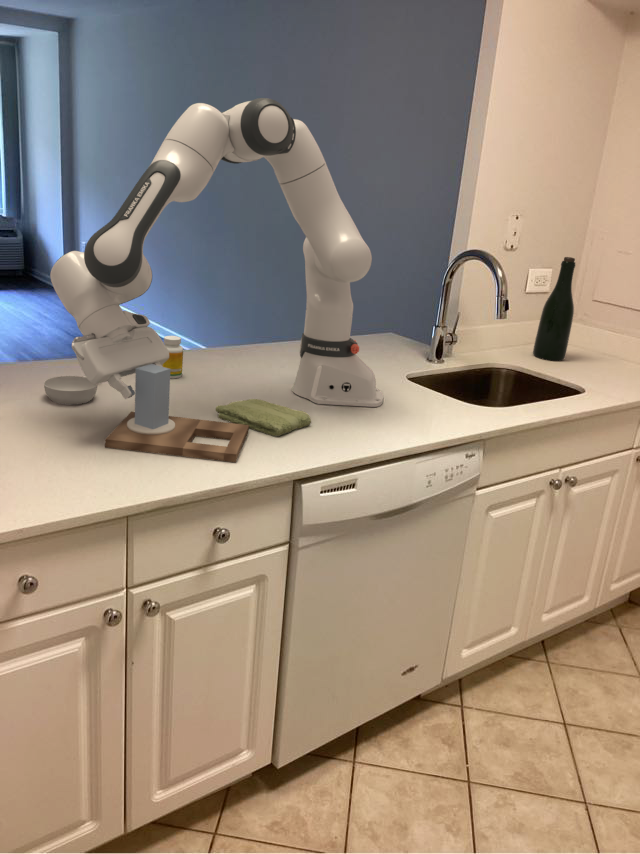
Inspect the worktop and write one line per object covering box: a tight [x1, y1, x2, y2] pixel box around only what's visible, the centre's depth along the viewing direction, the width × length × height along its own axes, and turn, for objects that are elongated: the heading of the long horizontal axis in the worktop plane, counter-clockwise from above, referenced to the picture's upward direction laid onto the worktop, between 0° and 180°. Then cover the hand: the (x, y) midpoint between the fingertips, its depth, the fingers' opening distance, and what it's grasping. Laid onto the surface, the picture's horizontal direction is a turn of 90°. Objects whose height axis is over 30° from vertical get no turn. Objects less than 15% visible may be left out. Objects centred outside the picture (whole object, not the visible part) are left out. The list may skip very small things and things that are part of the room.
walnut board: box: [104, 411, 250, 463], centre depth 139 cm, size 24×16×2 cm, turn 87°
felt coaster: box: [127, 418, 175, 435], centre depth 140 cm, size 9×9×1 cm
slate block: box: [134, 364, 171, 429], centre depth 138 cm, size 4×4×11 cm
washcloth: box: [215, 398, 312, 437], centre depth 154 cm, size 13×18×3 cm
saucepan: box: [43, 374, 98, 406], centre depth 158 cm, size 11×18×4 cm, turn 168°
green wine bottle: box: [532, 256, 576, 362], centre depth 237 cm, size 10×10×33 cm
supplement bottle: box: [162, 335, 184, 379], centre depth 177 cm, size 5×5×10 cm
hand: (147, 391), depth 138 cm, fingers open, 8 cm apart
